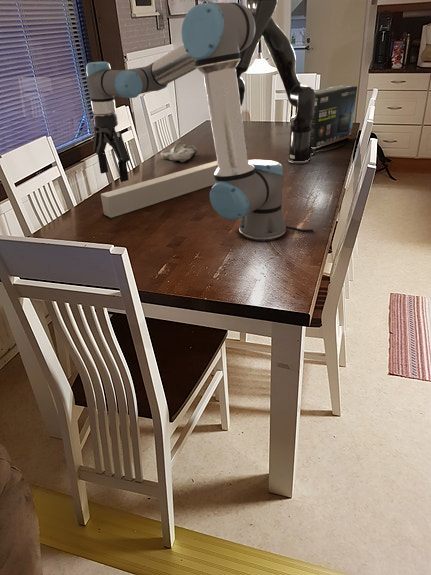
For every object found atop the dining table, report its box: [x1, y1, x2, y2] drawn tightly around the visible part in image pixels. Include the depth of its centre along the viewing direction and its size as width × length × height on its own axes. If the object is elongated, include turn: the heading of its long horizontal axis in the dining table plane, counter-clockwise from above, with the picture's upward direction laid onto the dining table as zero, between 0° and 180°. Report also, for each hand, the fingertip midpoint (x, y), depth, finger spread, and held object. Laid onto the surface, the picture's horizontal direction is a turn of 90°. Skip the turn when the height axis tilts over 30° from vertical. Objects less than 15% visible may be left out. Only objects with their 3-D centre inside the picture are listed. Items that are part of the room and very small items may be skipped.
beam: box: [100, 160, 218, 219], centre depth 184 cm, size 69×5×8 cm, turn 132°
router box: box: [310, 84, 358, 147], centre depth 238 cm, size 36×11×27 cm, turn 134°
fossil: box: [160, 142, 199, 163], centre depth 229 cm, size 18×11×15 cm
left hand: (114, 176), depth 163 cm, fingers open, 13 cm apart
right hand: (234, 168), depth 201 cm, fingers closed on beam, 5 cm apart
